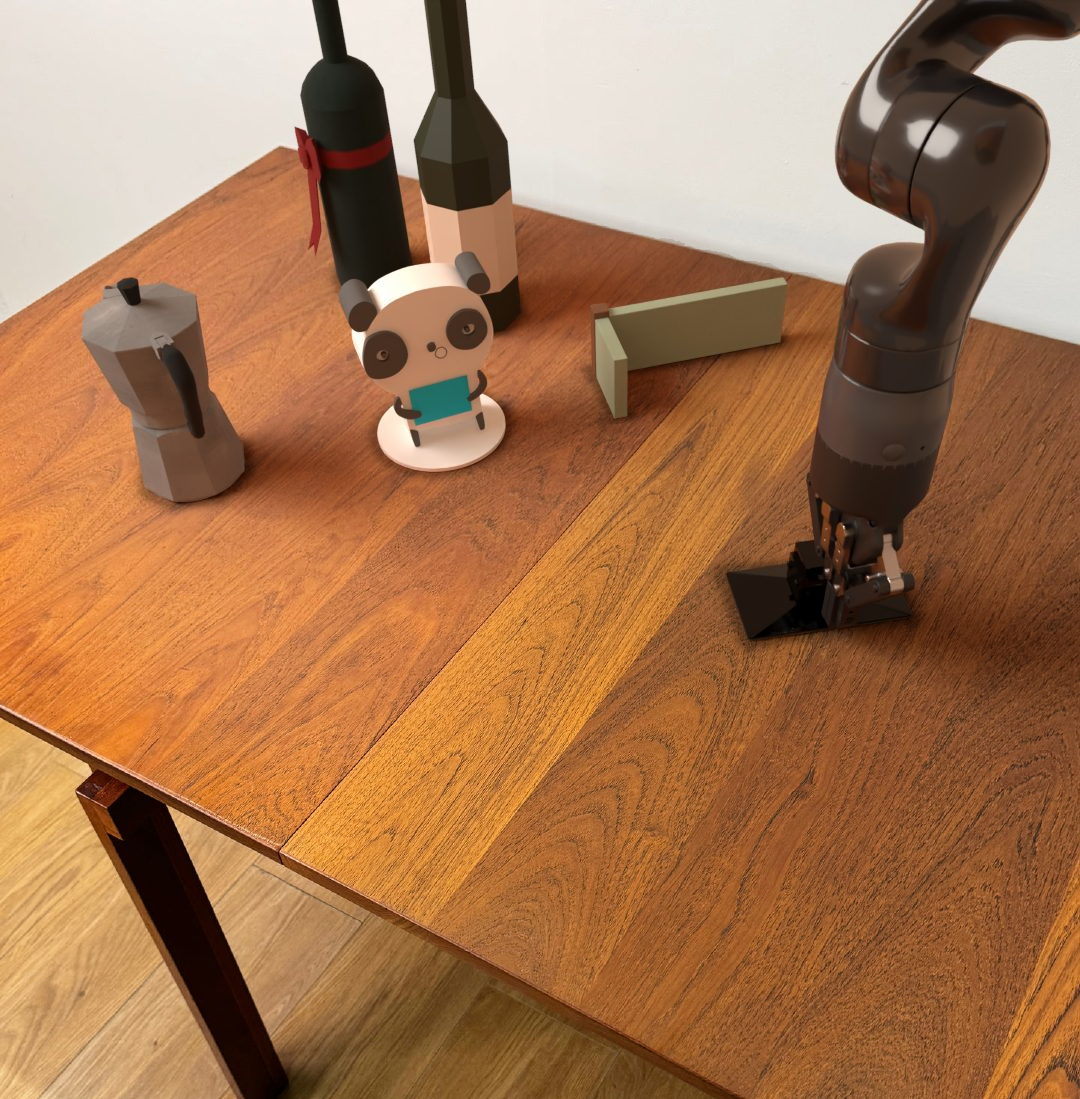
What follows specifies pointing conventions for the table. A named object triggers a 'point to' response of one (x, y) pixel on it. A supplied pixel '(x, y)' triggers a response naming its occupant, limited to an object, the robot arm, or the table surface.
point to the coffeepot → (164, 388)
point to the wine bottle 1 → (351, 159)
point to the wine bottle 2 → (466, 167)
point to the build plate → (795, 597)
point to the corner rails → (681, 331)
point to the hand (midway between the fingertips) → (838, 620)
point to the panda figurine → (428, 361)
